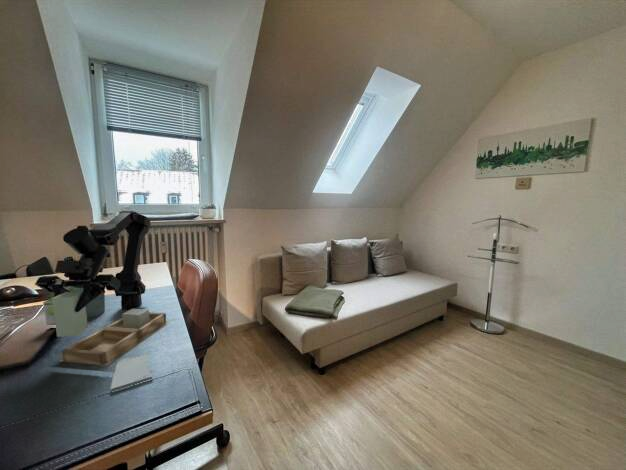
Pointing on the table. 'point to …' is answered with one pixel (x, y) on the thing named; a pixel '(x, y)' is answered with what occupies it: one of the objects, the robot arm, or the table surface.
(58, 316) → the green block
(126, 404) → the table surface
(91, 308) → the dark green round bin
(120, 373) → the hard drive
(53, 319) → the ink box
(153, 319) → the oak housing tray
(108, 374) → the table surface
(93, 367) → the table surface
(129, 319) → the grey jaw block
